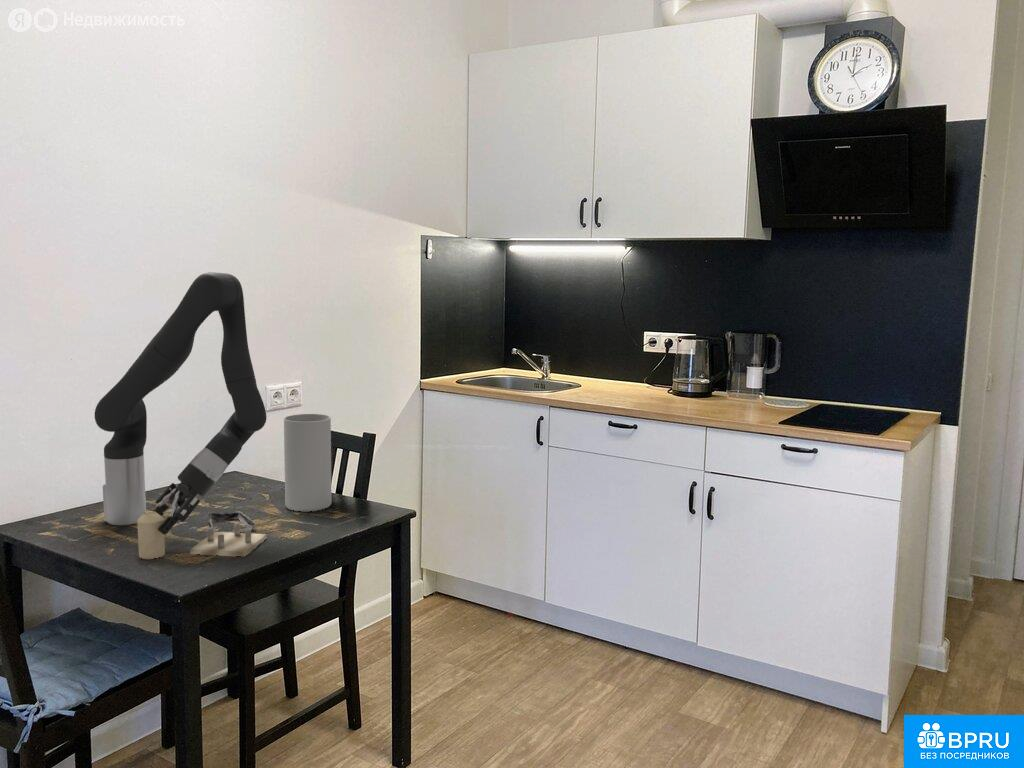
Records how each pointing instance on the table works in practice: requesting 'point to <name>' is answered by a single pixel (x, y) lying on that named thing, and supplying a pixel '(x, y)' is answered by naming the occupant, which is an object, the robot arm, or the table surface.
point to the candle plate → (228, 543)
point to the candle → (150, 536)
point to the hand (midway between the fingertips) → (155, 527)
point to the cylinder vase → (307, 462)
